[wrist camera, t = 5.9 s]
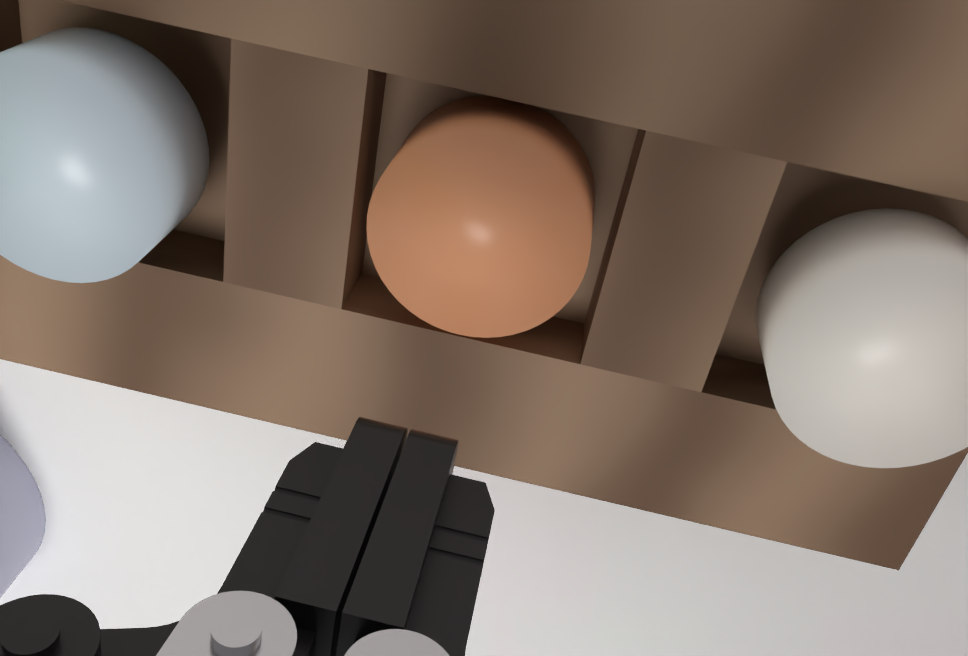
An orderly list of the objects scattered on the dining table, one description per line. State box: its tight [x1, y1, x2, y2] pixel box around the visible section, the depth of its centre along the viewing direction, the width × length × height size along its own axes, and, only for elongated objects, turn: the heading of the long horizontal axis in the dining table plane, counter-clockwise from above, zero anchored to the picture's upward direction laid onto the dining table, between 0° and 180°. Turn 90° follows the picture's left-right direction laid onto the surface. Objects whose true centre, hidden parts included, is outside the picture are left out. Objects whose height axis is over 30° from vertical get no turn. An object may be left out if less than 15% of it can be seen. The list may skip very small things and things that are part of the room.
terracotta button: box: [366, 96, 595, 338], centre depth 21 cm, size 5×5×2 cm
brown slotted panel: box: [0, 0, 968, 570], centre depth 22 cm, size 25×14×3 cm, turn 80°
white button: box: [756, 208, 968, 468], centre depth 20 cm, size 5×5×2 cm
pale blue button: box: [0, 27, 209, 283], centre depth 20 cm, size 5×5×2 cm
